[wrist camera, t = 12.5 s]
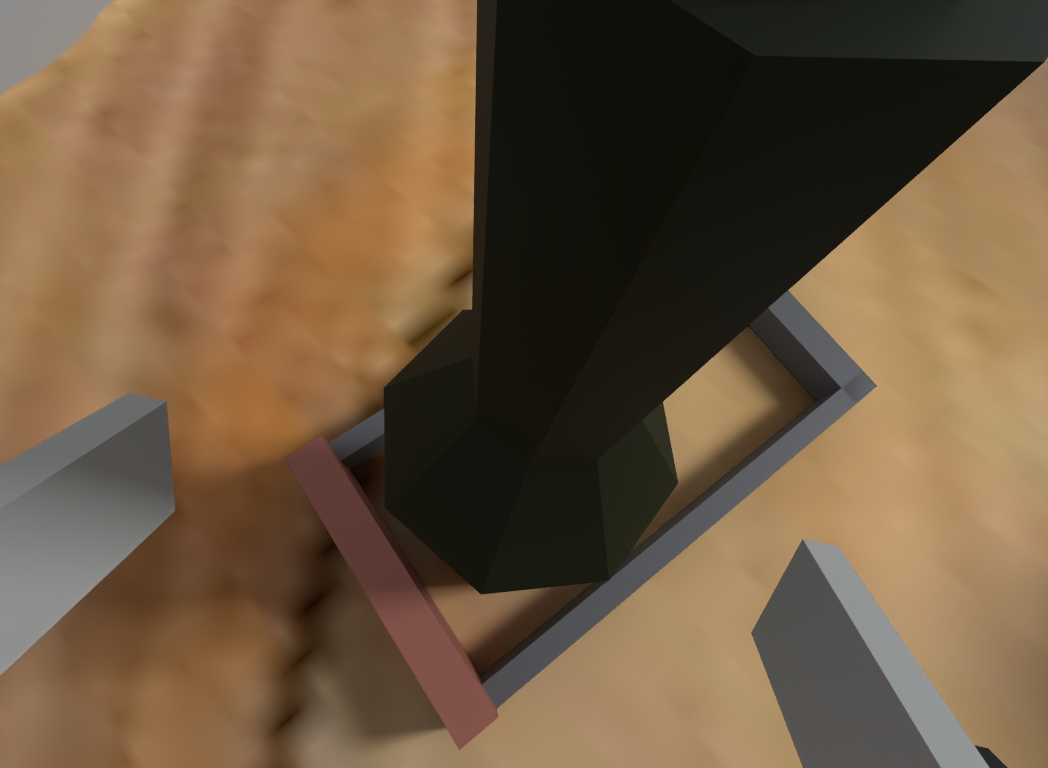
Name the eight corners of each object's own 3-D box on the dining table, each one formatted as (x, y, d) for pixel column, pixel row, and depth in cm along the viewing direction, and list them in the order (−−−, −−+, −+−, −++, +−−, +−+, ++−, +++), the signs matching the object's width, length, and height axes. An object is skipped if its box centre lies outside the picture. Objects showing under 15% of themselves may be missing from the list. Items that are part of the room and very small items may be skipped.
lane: (694, 230, 38) (720, 191, 34) (849, 398, 35) (895, 377, 31) (307, 472, 30) (284, 457, 26) (460, 724, 26) (459, 749, 23)
